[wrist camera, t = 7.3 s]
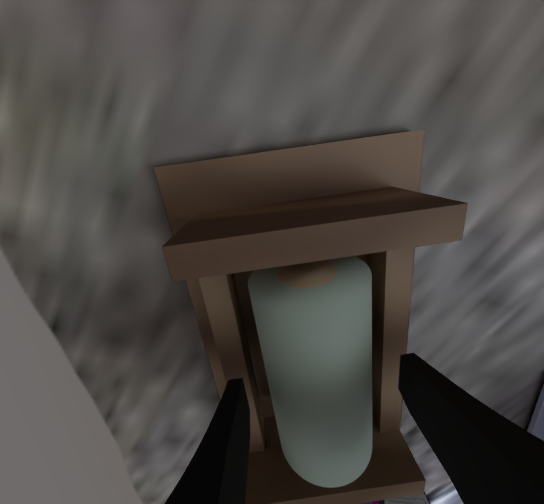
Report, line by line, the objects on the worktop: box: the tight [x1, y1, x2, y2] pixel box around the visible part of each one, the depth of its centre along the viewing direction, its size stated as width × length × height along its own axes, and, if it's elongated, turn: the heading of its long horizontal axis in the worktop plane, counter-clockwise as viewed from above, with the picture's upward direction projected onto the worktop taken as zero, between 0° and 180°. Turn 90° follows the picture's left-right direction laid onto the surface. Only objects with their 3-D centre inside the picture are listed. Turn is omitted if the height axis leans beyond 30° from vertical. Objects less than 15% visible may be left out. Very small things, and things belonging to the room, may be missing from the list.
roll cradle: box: [153, 129, 468, 504], centre depth 13 cm, size 20×12×6 cm, turn 8°
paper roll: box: [248, 256, 372, 488], centre depth 12 cm, size 10×5×5 cm, turn 9°
